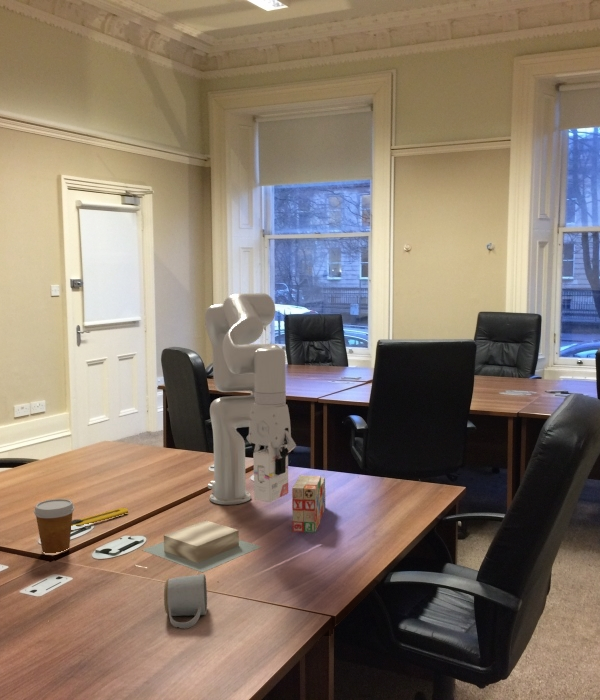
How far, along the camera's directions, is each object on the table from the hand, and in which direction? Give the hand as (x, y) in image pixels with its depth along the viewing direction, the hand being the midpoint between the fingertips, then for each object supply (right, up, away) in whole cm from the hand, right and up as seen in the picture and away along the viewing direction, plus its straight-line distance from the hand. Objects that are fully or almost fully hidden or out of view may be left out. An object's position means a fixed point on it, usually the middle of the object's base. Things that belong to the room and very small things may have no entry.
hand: (270, 470), depth 173 cm
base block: (-17, -20, +2) cm, 26 cm away
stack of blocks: (+10, -18, +25) cm, 32 cm away
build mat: (-17, -20, +2) cm, 27 cm away
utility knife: (-51, -19, +25) cm, 60 cm away
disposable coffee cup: (-54, -21, +2) cm, 57 cm away
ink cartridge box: (0, -7, +1) cm, 7 cm away
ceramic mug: (-15, -24, -32) cm, 43 cm away
